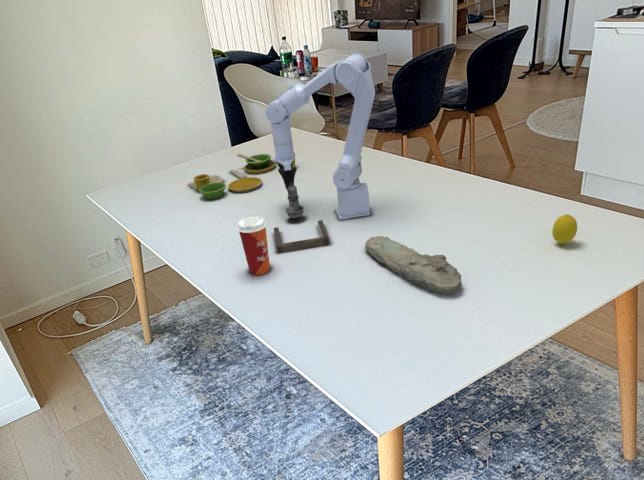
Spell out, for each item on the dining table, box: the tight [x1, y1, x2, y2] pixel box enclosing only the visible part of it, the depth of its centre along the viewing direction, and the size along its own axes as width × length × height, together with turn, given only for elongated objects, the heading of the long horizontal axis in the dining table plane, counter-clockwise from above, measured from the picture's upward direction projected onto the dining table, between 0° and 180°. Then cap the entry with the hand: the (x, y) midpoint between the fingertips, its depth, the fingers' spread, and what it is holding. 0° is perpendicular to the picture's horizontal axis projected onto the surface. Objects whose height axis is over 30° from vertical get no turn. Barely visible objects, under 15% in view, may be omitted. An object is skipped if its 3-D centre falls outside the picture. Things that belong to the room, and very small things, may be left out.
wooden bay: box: [273, 219, 330, 254], centre depth 166 cm, size 15×14×2 cm
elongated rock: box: [364, 235, 463, 295], centre depth 142 cm, size 35×5×10 cm
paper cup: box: [236, 216, 271, 276], centre depth 150 cm, size 8×8×14 cm
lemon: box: [551, 213, 578, 246], centre depth 141 cm, size 6×6×8 cm
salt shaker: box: [285, 183, 305, 224], centre depth 175 cm, size 6×6×12 cm
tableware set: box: [188, 152, 296, 200], centre depth 214 cm, size 41×28×6 cm
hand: (289, 185), depth 180 cm, fingers open, 7 cm apart
